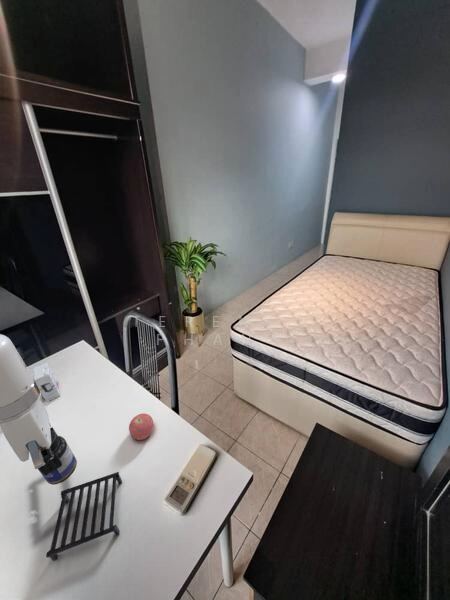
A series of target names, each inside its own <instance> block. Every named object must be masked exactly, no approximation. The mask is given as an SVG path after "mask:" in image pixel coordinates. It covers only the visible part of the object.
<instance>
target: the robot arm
mask: <svg viewBox="0 0 450 600" xmlns="http://www.w3.org/2000/svg"><path fill="white" fill-rule="evenodd" d="M41 398H42V393H41V391H40V389H39V387H38V385H37V384H36V382H35V380H34V376H33V375H32V373H31V372H30V370H29V368H28V366H27V365H26V363H25V361H24V360H23V358H22V357H21V354H20V353H19V351H18V350H17V348H16V346H15V344H14V343H13V342H12V340H11V338H9V337H8V336H6V335H4V334H2V333H0V429H1V432H2V433H3V436H4V437H5V439H6V441H7V443H8V444H9V446H10V448H11V449H12V450H13V452H14V453H15V455H16V457H17V458H18V459H19V461H20V462H23V463H25V462H26V461H29V459H30V458H31V462H32V461H33V462H32V465H33V467H34V470H38V468H39V469H40V470H41V472H42V473H43V474H44V475H47V474H49V473H51V472H53V471H54V470H56V469H58V468H59V467H61V466H62V462H61V461H60V459H59V457H58V456H57V454H56V453H53V452H52V450H51V448H50V446H51V432H50V430H52V431H55V432H56V430H55V428H54V427H52V425H51V423H50V416H49V413H48V410H47V409H46V407H45V405H44V403H43V402H42V399H41ZM39 446H40V447H39ZM45 449H46V451H47V455H45V456H44V457H42V454H41V452H42V451H44V450H45Z"/></svg>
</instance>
